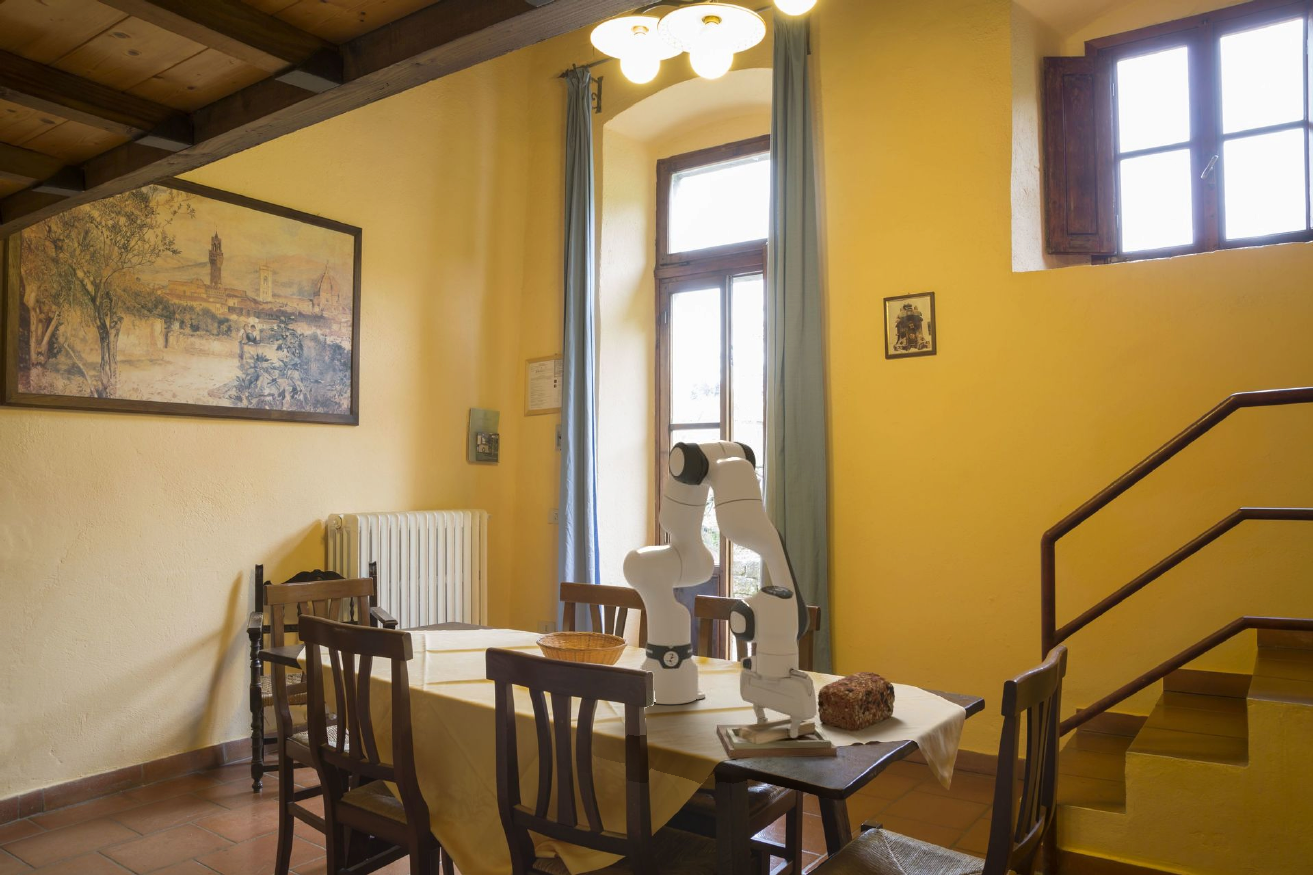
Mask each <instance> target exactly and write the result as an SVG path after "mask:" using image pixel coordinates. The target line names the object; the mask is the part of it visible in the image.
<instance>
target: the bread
mask: <svg viewBox="0 0 1313 875" xmlns="http://www.w3.org/2000/svg"><path fill="white" fill-rule="evenodd" d="M817 699H818V701H817V706H818V709H817V712H818V716H819V721H820V723H822V724H825V725H827V726H829V725H830V726H829V727H834V726H836V727H839V728H841V729H843V730H849V731H852V732H857V730H858V731H860V730H862V729H865V728H867V726H868V727H870V726H872V725H875V724H877V723H879V722H881V721H884V720H886V719H888V717H889V718H890V717H891V716H893V715H894V714H893V713H894V708H895V706H894V703H895V701H896V696H895V687H894V684H892V683H891V682H890V681H888V680H887V679H886V678H885V677H883V676H881V675H879V674H877V673H874V672H869V671H860V672H857V673H853V674H851V675H848V676H845V677H844V678H840V679H838V680H835V681H833V682H830V683H828V684H826V685H824V686H822V688H820V689H819V691H818V695H817ZM874 723H875V724H874ZM869 725H870V726H869ZM864 727H865V728H864Z"/></svg>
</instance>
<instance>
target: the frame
mask: <svg viewBox="0 0 1313 875" xmlns="http://www.w3.org/2000/svg"><path fill="white" fill-rule="evenodd" d="M791 723H792V721H790V716H788V717H783V718H777V719H773V720H768V721H767V722H762V723H757V722H756V723H752V725H748V726H743V727H739V737H740V738H742V739H745V740H748V741H750V742H753V743H755V744H762V743H766V742H771V741H776V740H780V739H785V738H789V737H788V736H787V728H790V726H791ZM815 725H816V723H815V721H812V720H810V719H808V720H802V722H801V724H800V726H799V728H798V735H803V734H807V733H812V732H815Z"/></svg>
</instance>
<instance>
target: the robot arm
mask: <svg viewBox="0 0 1313 875" xmlns="http://www.w3.org/2000/svg"><path fill="white" fill-rule="evenodd" d="M756 461H757V459H756V456H755V453H754V450H753V449H752V447H751V446H749V445H748V444H745V443H743V442H739V441H728V440H722V439H708V440H707V439H704V440H703V439H702V440H693V439H687V440H682V441H679V442H676V443H675V444H674V445H673V446H672V448H671V450H670V453H669V455H668V469H669V473H668V477H667V480H666V483H665V486H664V487H665V488H664V490H663V496H662V500H661V505H660V509H659V514H658V521H659V522H658V523H659V525H660V527H661V528H662V530H663V531H664V532H666V533H667V534H668V535H670V542H669V543H668V544H666V545H648V546H647V545H646V546H642V547H639V548H636V549H633V550H630V551H629V552H628V553H627V555H626V556H625V558H624V561H623V564H622V571H623V573H622V574H623V577H624V579H625V580H626V582H627V583H628V585H630V586H631V588H633V589H634V590H635V591H636V592H637V593H638V595H639V596H640V598H641V600H642V601H643V604H644V607H645V611H646V621H647V622H646V624H647V641H646V642H645V647H644V648H645V656H646V658H645V660H644V661H643V662H642V663H641V665H640V667H639V668H638V669H642V670H646V671H652V673H654V691H655V699H656V703H655V704H659V705H681V704H686V703H687V704H688V703H691V702H694V701H696V699H697V700H700V699H701V700H702V699H704V697H705V698H706V693H705V692H704V691H703V690H701V689H699V666H698V664H697V663H696V662H695V661H694V660H693V658H692V657H693V643H692V641H691V626H692V625H691V623H692V622H691V621H692V620H691V618H692V617H691V613H690V611H689V609H688V608H687V607H686V606H685V605H683V604H682V603H680V602H678V601H677V599H676V597H675V595H674V594H675V593H674V588H687V587H689V588H691V587H695V586H698V585H701V584H703V583H707V582H708V581H710V579H711V578H712V576H713V574H714V572H715V560H714V557H713V556H714V555H713V554H712V553H711V551H710V550H709V549H708V547H706V545H705V544H704V541H703V537H702V528H703V522H704V521H703V520H704V514H705V510H706V505H707V503H708V502H707V501H708V496H709V492H710V487H711V489H712V492H713V493H712V494H713V503H714V511H715V512H714V513H715V518H716V523H717V526H718V529H719V532H720V533H721V534H722V536H724V538H726V539H727V540H728V541H730V542H731V543H733V544H734V545H737V546H740V547H742V548H745V549H748V550H750V551H752V552H753V553H755V554H757V555H759V556H760V557H761V558H762V560H763V561H764V562H765V565H766V566H767V570H768V572H769V576H770V577H769V578H770V580H771V584H772V585H766V586H763V587H761V588H760V589H758V591H757V593H756V594H754V595H752V596H749V597H746V598H742V599H739V600H737V601H736V602H735V603H734V604H733V605H732V606H731V610H730V611H729V615H728V616H729V618H728V624H729V625H728V626H729V629H730V631H731V634H732V635H733V636H734V637H735V638H736V639H737V641H740V642H743V643H748V644H749V643H752V644H753V643H756V650H755V654H754V655H751V656H745V657H741V658H740V660H739V662H740V663H739V664H740V667H741V668H742V670H741V671H740V674H739V675H740V676H739V693H740V697H741V699H742V701H744V702H747V703H749V704H753V705H752V706H753V707H752V709H753V711H754V714H755V717H756V721H757V722H756V724H757V723H762V722H767V721H769V718H768V717H766V714H765V711H764V709H768V710H771V711H774V712H777V713H780V714H783V715H786V716H788V717H790V721H792V723H791V726H790V728H787V736H788V737H791V738H796V737H797V736H798V728H799V726H800V724H801V722H802V720H812V719H814V718H815V716H816V715H817V712H818V709H817V700H816V699H817V698H816V690H815V687H814V682H813V679H812V678H811V676H810V675H809V674H808V672H805V671H800V670H799V647H798V644H797V641H799V640H801V639H802V637H803V636H804V635H805V634H806V632H807V631H808V628H809V626H810V624H811V623H810V622H811V618H810V617H811V616H810V612H809V609H808V606H807V604H806V601H805V600H804V598H803V596H802V594H801V591H800V588H799V585H798V582H797V579H796V575H795V572H794V569H793V565H792V562H791V559H790V556H789V552H788V549H787V546H786V543H785V540H784V538H783V535H782V533H781V532H780V530H779V529H778V528H777V527H775V526H774V525H773V524H772V522H771V521H770V519H769V517H768V515H767V512H766V510H765V507H764V501H763V495H762V491H761V486H760V483H759V480H758V475H757V473H756V467H757V466H756V465H757V462H756Z"/></svg>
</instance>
